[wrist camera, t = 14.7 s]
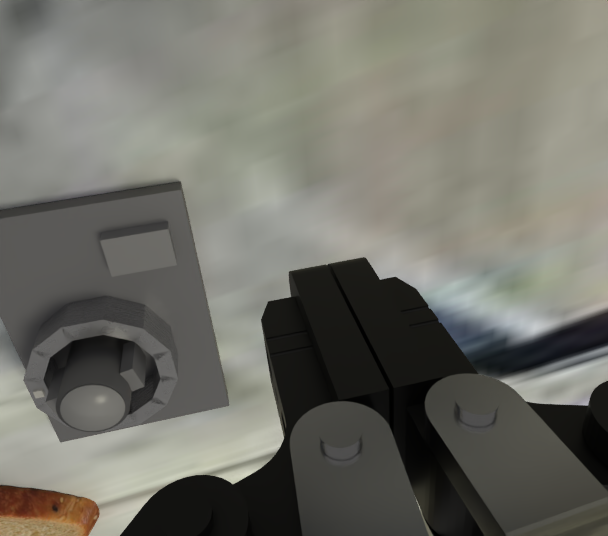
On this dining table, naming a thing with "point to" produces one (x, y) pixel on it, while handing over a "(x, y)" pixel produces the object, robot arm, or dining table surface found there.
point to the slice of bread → (45, 513)
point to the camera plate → (113, 280)
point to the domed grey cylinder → (97, 383)
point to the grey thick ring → (116, 323)
